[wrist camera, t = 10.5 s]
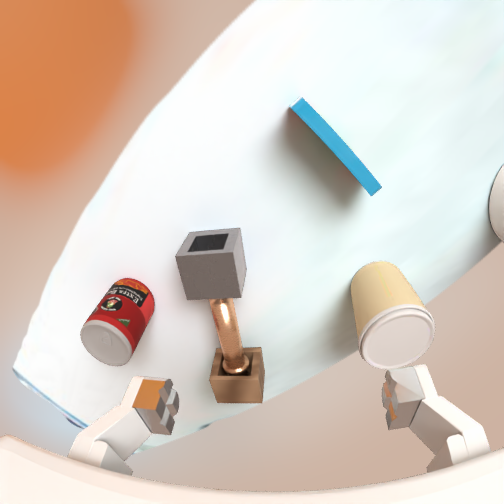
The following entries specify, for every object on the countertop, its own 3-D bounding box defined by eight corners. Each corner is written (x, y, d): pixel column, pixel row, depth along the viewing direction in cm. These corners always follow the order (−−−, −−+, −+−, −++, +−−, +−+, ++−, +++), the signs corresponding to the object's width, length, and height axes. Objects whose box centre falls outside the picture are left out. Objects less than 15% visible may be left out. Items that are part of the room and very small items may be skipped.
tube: (237, 288, 43) (233, 306, 39) (252, 368, 50) (250, 387, 46) (208, 289, 43) (202, 308, 40) (228, 369, 51) (225, 387, 47)
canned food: (153, 279, 45) (124, 329, 35) (158, 321, 49) (135, 372, 39) (108, 272, 45) (73, 317, 36) (116, 313, 49) (87, 360, 40)
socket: (261, 347, 49) (257, 379, 44) (264, 371, 52) (262, 403, 46) (216, 348, 50) (209, 379, 44) (223, 372, 53) (217, 402, 47)
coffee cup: (391, 314, 45) (413, 373, 34) (335, 305, 45) (347, 368, 34) (417, 262, 40) (451, 316, 30) (357, 248, 40) (380, 305, 30)
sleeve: (240, 227, 40) (233, 252, 34) (246, 269, 43) (241, 297, 37) (189, 232, 41) (175, 256, 35) (198, 272, 44) (187, 299, 38)
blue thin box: (288, 105, 33) (290, 107, 27) (298, 96, 32) (302, 97, 27) (359, 180, 36) (372, 197, 31) (368, 173, 35) (383, 188, 30)
